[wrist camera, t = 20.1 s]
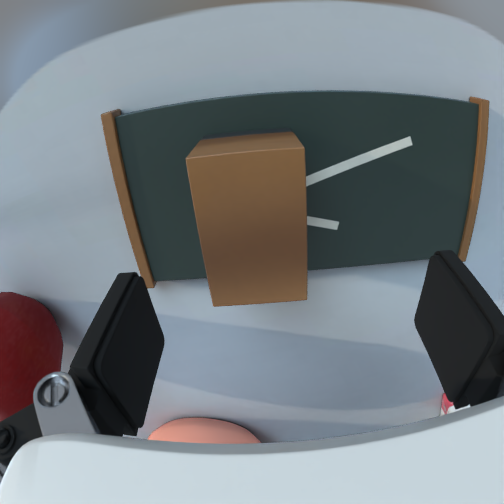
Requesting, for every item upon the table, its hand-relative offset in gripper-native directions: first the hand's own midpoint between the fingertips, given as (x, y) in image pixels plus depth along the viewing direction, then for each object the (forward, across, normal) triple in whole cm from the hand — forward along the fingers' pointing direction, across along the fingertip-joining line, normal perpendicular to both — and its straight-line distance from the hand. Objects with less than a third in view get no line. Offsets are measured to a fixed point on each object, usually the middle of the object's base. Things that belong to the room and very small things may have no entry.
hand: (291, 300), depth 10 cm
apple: (+12, +24, +11) cm, 29 cm away
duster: (+11, +1, +1) cm, 11 cm away
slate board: (+12, -3, 0) cm, 12 cm away
